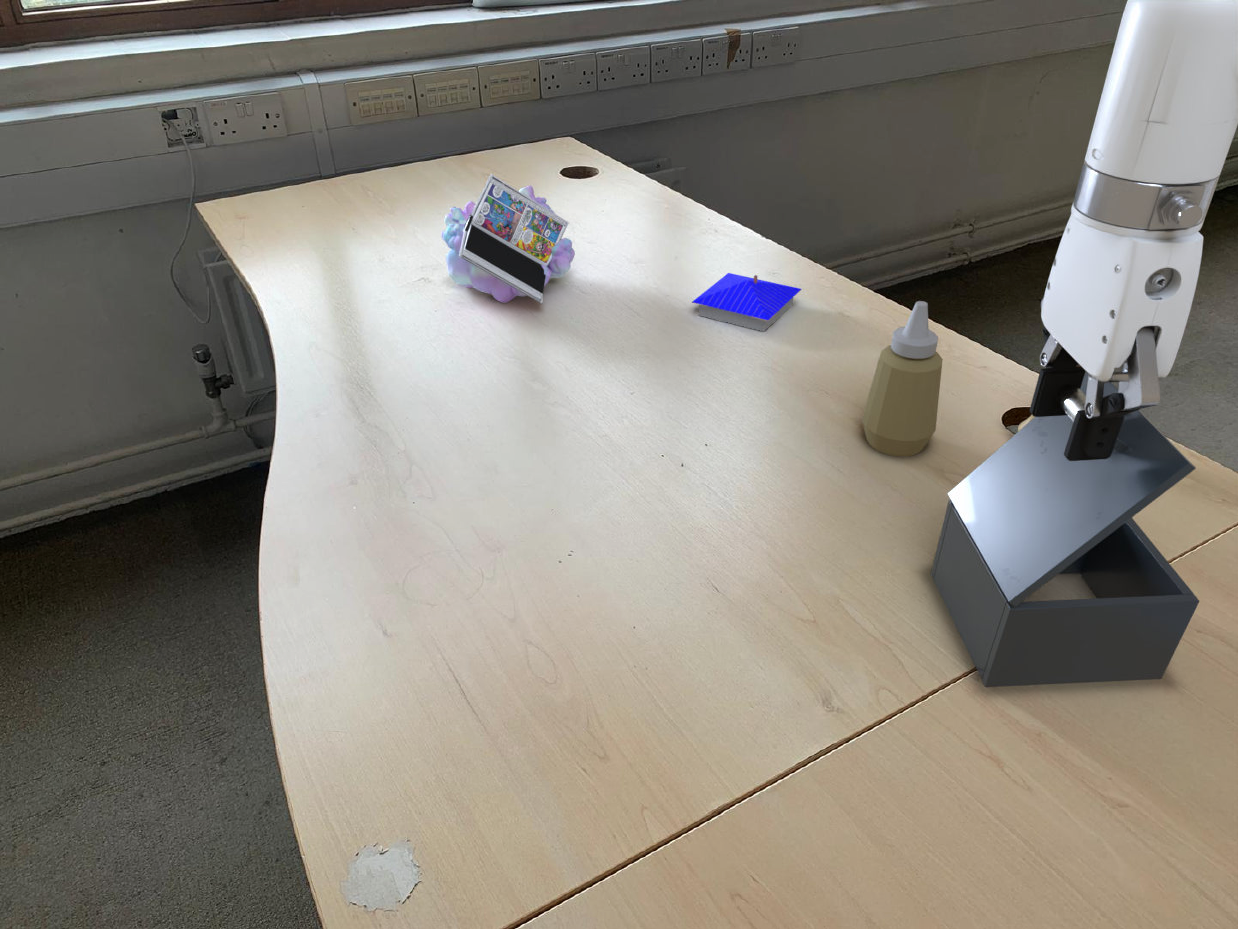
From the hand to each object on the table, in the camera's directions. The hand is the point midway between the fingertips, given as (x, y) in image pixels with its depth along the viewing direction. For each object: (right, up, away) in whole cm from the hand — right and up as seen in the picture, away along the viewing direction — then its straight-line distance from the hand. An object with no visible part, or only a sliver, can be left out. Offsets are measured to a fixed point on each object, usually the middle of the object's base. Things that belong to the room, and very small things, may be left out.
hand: (1068, 433), depth 67 cm
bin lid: (+1, -4, +3) cm, 5 cm away
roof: (-15, +20, +66) cm, 70 cm away
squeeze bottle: (-2, -1, +36) cm, 36 cm away
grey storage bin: (+3, -17, +12) cm, 21 cm away
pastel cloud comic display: (-50, +26, +75) cm, 94 cm away
